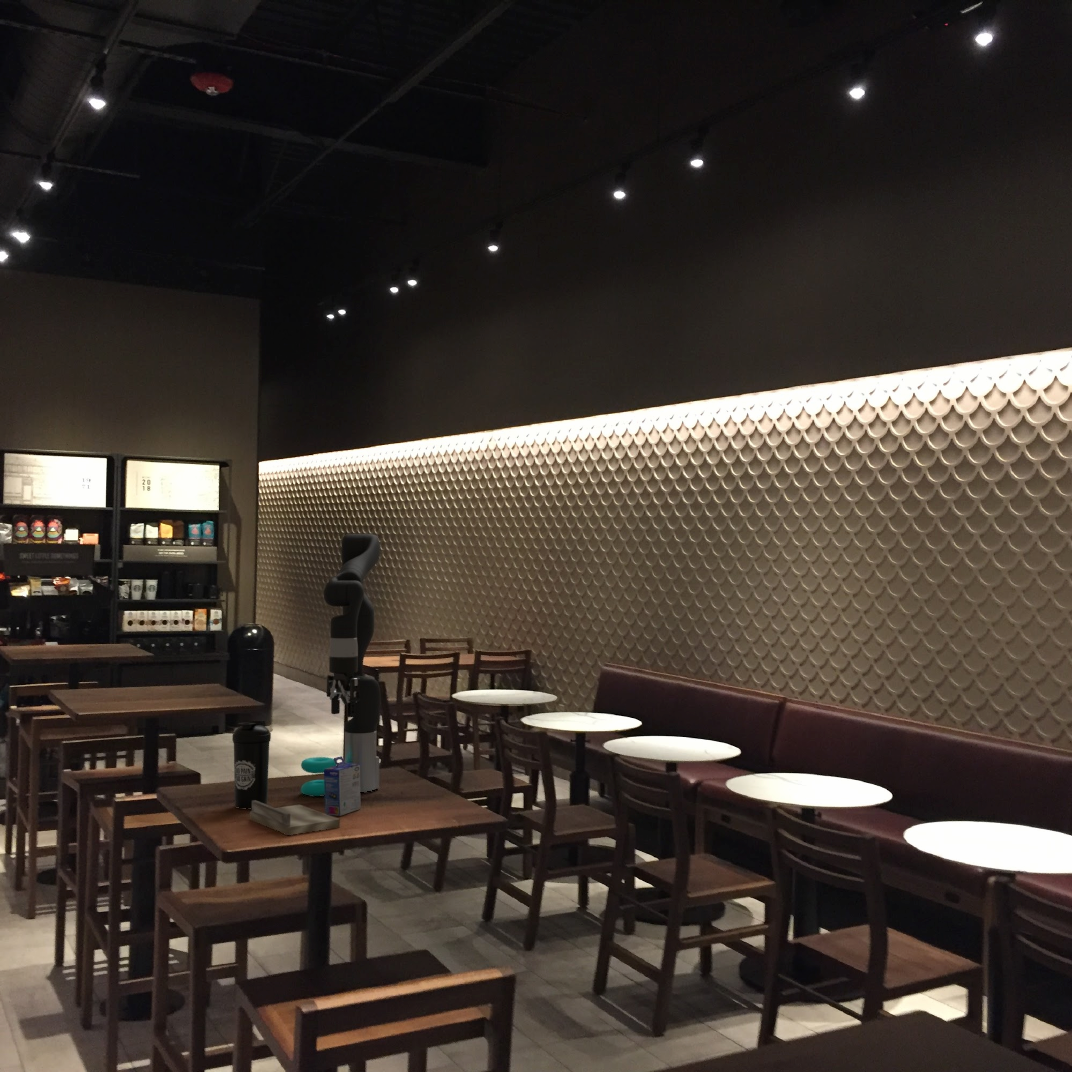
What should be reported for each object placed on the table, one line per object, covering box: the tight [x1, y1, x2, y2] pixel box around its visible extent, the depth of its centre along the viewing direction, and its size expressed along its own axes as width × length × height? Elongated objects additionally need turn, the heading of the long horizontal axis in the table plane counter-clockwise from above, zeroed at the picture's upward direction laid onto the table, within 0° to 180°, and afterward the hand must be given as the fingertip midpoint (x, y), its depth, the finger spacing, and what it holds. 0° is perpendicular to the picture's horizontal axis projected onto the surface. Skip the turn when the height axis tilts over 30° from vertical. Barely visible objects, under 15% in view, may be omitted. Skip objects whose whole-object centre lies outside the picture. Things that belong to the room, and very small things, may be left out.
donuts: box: [300, 756, 337, 796], centre depth 309 cm, size 10×10×10 cm
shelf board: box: [249, 800, 341, 836], centre depth 273 cm, size 14×22×5 cm, turn 39°
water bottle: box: [231, 719, 272, 810], centre depth 293 cm, size 10×10×23 cm
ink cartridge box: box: [323, 755, 362, 817], centre depth 286 cm, size 10×6×14 cm, turn 155°
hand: (343, 715), depth 287 cm, fingers open, 8 cm apart
